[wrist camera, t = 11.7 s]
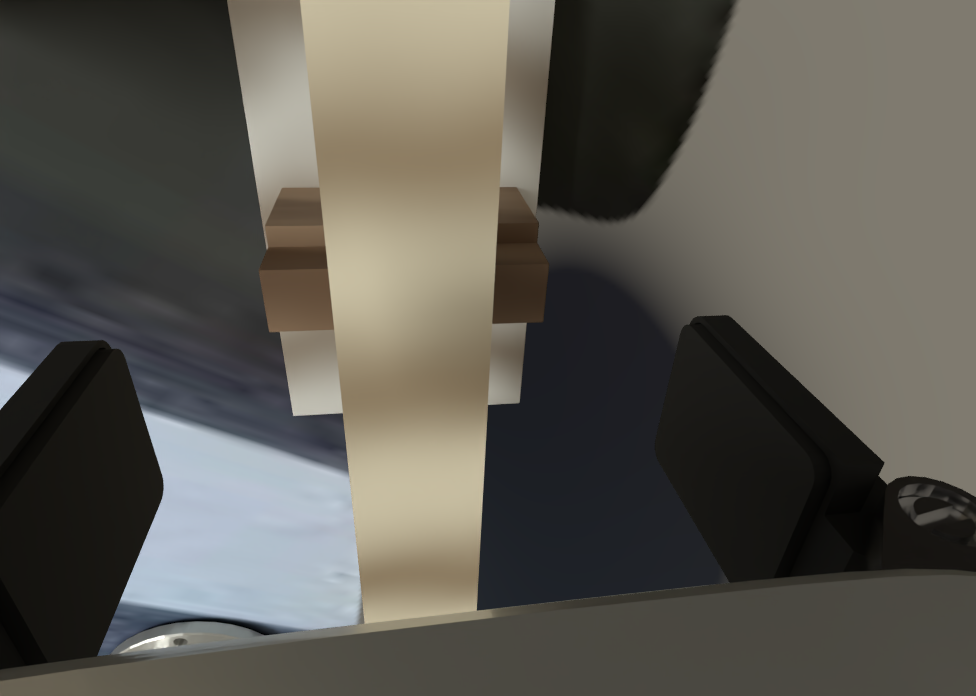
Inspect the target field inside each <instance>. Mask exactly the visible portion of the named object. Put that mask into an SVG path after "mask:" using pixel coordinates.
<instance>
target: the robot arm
mask: <svg viewBox="0 0 976 696" xmlns="http://www.w3.org/2000/svg"><path fill="white" fill-rule="evenodd" d="M655 451H656V456H657V459H658V461H659V463H660V465H661V466H662V468H663V470H664V472H665V473H666V475H667V477H668V478H669V480H670V482H671V484H672V485H673V487H674V489H675V490H676V492H677V494H678V495H679V497H680V499H681V501H682V502H683V504H684V505H685V507H686V509H687V511H688V513H689V514H690V516H691V518H692V519H693V521H694V523H695V524H696V526H697V528H698V530H699V531H700V533H701V535H702V536H703V538H704V540H705V541H706V543H707V545H708V547H709V548H710V550H711V552H712V553H713V555H714V557H715V558H716V560H717V562H718V564H719V565H720V567H721V569H722V570H723V572H724V574H725V575H726V577H727V579H728V581H729V582H730V583H725V584H716V585H707V586H697V587H688V588H679V589H671V590H670V589H669V590H661V591H651V592H641V593H633V594H623V595H614V596H605V597H596V598H586V599H577V600H569V601H559V602H551V603H542V604H533V605H525V606H516V607H506V608H498V609H489V610H480V611H471V612H462V613H454V614H445V615H436V616H428V617H419V618H410V619H401V620H393V621H384V622H375V623H367V624H358V625H350V626H341V627H333V628H324V629H316V630H308V631H299V632H291V633H283V634H274V635H266V636H264V635H262V634H260V633H258V632H255V631H253V630H251V629H248V628H244V627H241V626H237V625H233V624H227V623H220V622H206V621H192V622H179V623H173V624H168V625H162V626H158V627H155V628H152V629H149V630H146V631H143V632H141V633H139V634H137V635H135V636H133V637H131V638H129V639H127V640H125V641H124V642H123V643H121V644H120V645H119V646H117V647H116V648H115V649H114V651H113V652H112V653H111V654H110V655H105V656H97V655H98V652H99V650H100V647H101V645H102V643H103V640H104V638H105V635H106V633H107V631H108V628H109V626H110V623H111V621H112V618H113V616H114V614H115V611H116V609H117V606H118V604H119V601H120V599H121V597H122V594H123V592H124V589H125V587H126V585H127V582H128V580H129V577H130V575H131V572H132V570H133V568H134V565H135V563H136V560H137V558H138V556H139V553H140V551H141V548H142V546H143V543H144V541H145V539H146V536H147V534H148V531H149V529H150V527H151V524H152V522H153V519H154V517H155V514H156V512H157V510H158V507H159V505H160V502H161V500H162V496H163V478H162V474H161V471H160V467H159V464H158V461H157V458H156V455H155V452H154V448H153V445H152V442H151V439H150V436H149V432H148V429H147V426H146V423H145V420H144V417H143V413H142V410H141V407H140V404H139V401H138V398H137V394H136V391H135V388H134V385H133V382H132V378H131V375H130V372H129V369H128V366H127V363H126V359H125V357H124V354H123V353H122V351H121V350H119V349H111V347H110V346H109V344H108V343H107V342H105V341H103V340H98V341H73V342H61V343H59V344H58V345H57V346H56V347H55V348H54V349H53V350H52V351H51V353H50V354H49V355H48V356H47V357H46V358H45V359H44V361H43V362H42V363H41V364H40V365H39V366H38V367H37V369H36V370H35V371H34V372H33V373H32V374H31V375H30V376H29V378H28V379H27V380H26V381H25V382H24V383H23V384H22V386H21V387H20V388H19V389H18V390H17V391H16V392H15V394H14V395H13V396H12V397H11V398H10V399H9V400H8V402H7V403H6V404H5V405H4V406H3V407H2V408H1V410H0V696H976V497H975V496H973V495H971V494H969V493H968V492H966V491H964V490H962V489H960V488H957V487H955V486H952V485H950V484H948V483H945V482H942V481H938V480H934V479H930V478H926V477H916V476H907V477H900V478H896V479H895V480H893V481H892V482H890V483H889V484H888V485H887V484H886V483H885V482H884V481H883V480H882V479H881V478H880V477H879V476H878V475H879V473H880V471H881V469H882V467H883V465H884V462H883V461H882V460H881V459H880V458H879V457H878V456H877V455H876V454H874V452H873V451H872V450H871V449H869V448H868V447H867V446H866V445H865V444H864V443H863V442H862V441H861V440H860V439H859V438H858V437H857V436H856V435H855V434H854V433H853V432H852V431H850V429H848V428H847V427H846V426H845V425H844V424H843V423H842V422H841V421H840V420H839V419H838V418H837V417H836V416H835V415H834V414H833V413H832V412H831V411H829V410H828V409H827V408H826V407H825V406H824V405H823V404H822V403H821V402H820V401H819V400H818V399H817V398H816V397H815V396H814V395H813V394H811V393H810V392H809V391H808V390H807V389H806V388H805V387H804V386H803V385H802V384H801V383H800V382H799V381H798V380H797V379H796V378H795V377H794V376H793V375H791V374H790V373H789V372H788V371H787V370H786V369H785V368H784V367H783V366H782V365H781V364H780V363H779V362H778V361H777V360H776V359H774V357H772V356H771V355H770V354H769V353H768V352H767V351H766V350H765V349H764V348H763V347H762V346H761V345H760V344H759V343H758V342H757V341H756V340H755V339H753V338H752V337H751V336H750V335H749V334H748V333H747V332H746V331H745V330H744V329H743V328H742V327H741V326H740V325H739V324H738V323H736V321H735V320H733V319H732V318H731V317H729V316H726V315H724V316H723V315H722V316H697V317H695V318H693V320H692V321H691V323H690V325H685V326H684V327H683V329H682V331H681V334H680V338H679V342H678V347H677V350H676V355H675V359H674V363H673V367H672V372H671V376H670V380H669V384H668V389H667V393H666V397H665V402H664V406H663V410H662V414H661V418H660V423H659V427H658V431H657V435H656V440H655Z"/></svg>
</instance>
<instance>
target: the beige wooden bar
mask: <svg viewBox="0 0 976 696" xmlns="http://www.w3.org/2000/svg"><path fill="white" fill-rule="evenodd" d="M300 5H301V15H302V24H303V34H304V44H305V53H306V63H307V73H308V82H309V92H310V101H311V111H312V121H313V130H314V140H315V149H316V159H317V169H318V178H319V188H320V197H321V207H322V217H323V226H324V236H325V245H326V255H327V265H328V274H329V284H330V294H331V303H332V313H333V322H334V332H335V342H336V351H337V361H338V370H339V380H340V390H341V399H342V409H343V418H344V428H345V438H346V447H347V457H348V467H349V476H350V486H351V495H352V505H353V515H354V524H355V534H356V543H357V553H358V563H359V572H360V582H361V591H362V601H363V610H364V620H365V624H367V623H375V622H384V621H393V620H401V619H410V618H419V617H428V616H436V615H445V614H454V613H462V612H471V611H476V610H477V592H478V591H477V590H478V574H479V555H480V536H481V519H482V501H483V480H484V464H485V446H486V428H487V409H488V391H489V373H490V354H491V336H492V318H493V300H494V281H495V263H496V245H497V226H498V208H499V190H500V172H501V153H502V135H503V117H504V98H505V80H506V62H507V44H508V25H509V7H510V0H300Z"/></svg>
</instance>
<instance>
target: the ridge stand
mask: <svg viewBox="0 0 976 696" xmlns="http://www.w3.org/2000/svg"><path fill="white" fill-rule="evenodd" d="M227 3H228V9H229V15H230V22H231V28H232V34H233V41H234V47H235V53H236V59H237V66H238V72H239V78H240V84H241V91H242V97H243V103H244V109H245V116H246V122H247V128H248V135H249V141H250V147H251V153H252V160H253V166H254V172H255V178H256V185H257V191H258V197H259V204H260V210H261V216H262V222H263V229H264V235H265V241H266V247H267V251H266V254H265V256H264V259H263V261H262V264H261V266H260V269H259V274H260V280H261V286H262V292H263V298H264V304H265V310H266V316H267V321H268V327H269V332H280V335H281V341H282V348H283V354H284V360H285V366H286V373H287V379H288V385H289V392H290V398H291V404H292V410H293V416H298V415H316V414H334V413H343V409H342V399H341V390H340V380H339V370H338V361H337V351H336V342H335V332H334V322H333V313H332V303H331V294H330V284H329V274H328V265H327V255H326V245H325V236H324V226H323V217H322V207H321V197H320V188H319V178H318V169H317V159H316V149H315V140H314V130H313V121H312V111H311V101H310V92H309V82H308V73H307V63H306V53H305V44H304V34H303V24H302V15H301V5H300V0H227ZM554 8H555V0H510V7H509V25H508V44H507V62H506V80H505V98H504V117H503V135H502V153H501V172H500V190H499V208H498V226H497V245H496V263H495V281H494V300H493V318H492V336H491V354H490V373H489V391H488V405H492V404H509V403H520V391H521V379H522V369H523V357H524V345H525V335H526V324H527V323H533V322H543V318H544V308H545V299H546V289H547V279H548V270H549V263H548V261H547V259H546V258H545V256H544V254H543V252H542V251H541V249H540V247H539V245H538V244H537V238H538V227H539V222H538V221H537V219H536V211H537V200H538V188H539V177H540V166H541V154H542V143H543V132H544V121H545V109H546V98H547V87H548V76H549V64H550V53H551V42H552V30H553V19H554Z"/></svg>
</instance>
